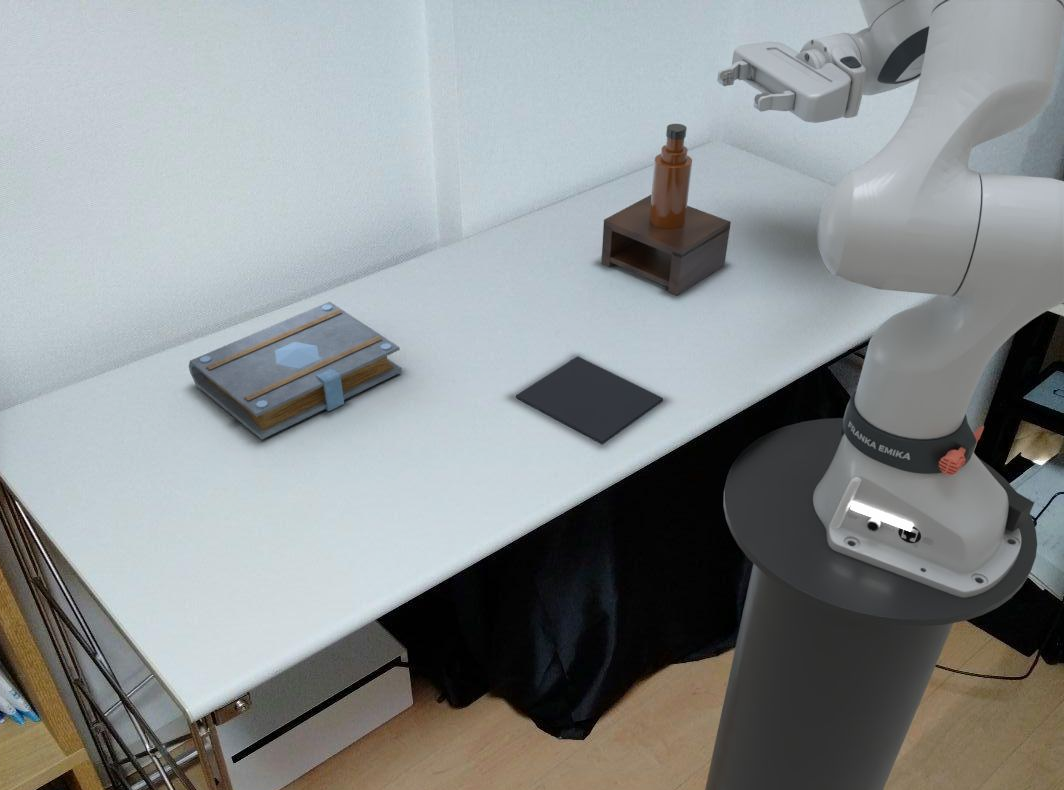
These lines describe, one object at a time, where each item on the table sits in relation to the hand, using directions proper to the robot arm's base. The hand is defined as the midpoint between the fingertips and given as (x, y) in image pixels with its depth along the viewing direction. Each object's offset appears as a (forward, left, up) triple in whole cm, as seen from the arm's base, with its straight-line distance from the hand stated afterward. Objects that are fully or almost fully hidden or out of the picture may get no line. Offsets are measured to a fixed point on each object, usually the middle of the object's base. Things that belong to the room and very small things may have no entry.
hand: (738, 90), depth 141 cm
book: (+20, +64, -24) cm, 71 cm away
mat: (-10, +42, -24) cm, 49 cm away
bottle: (+4, +8, -17) cm, 19 cm away
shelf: (+4, +8, -24) cm, 26 cm away
